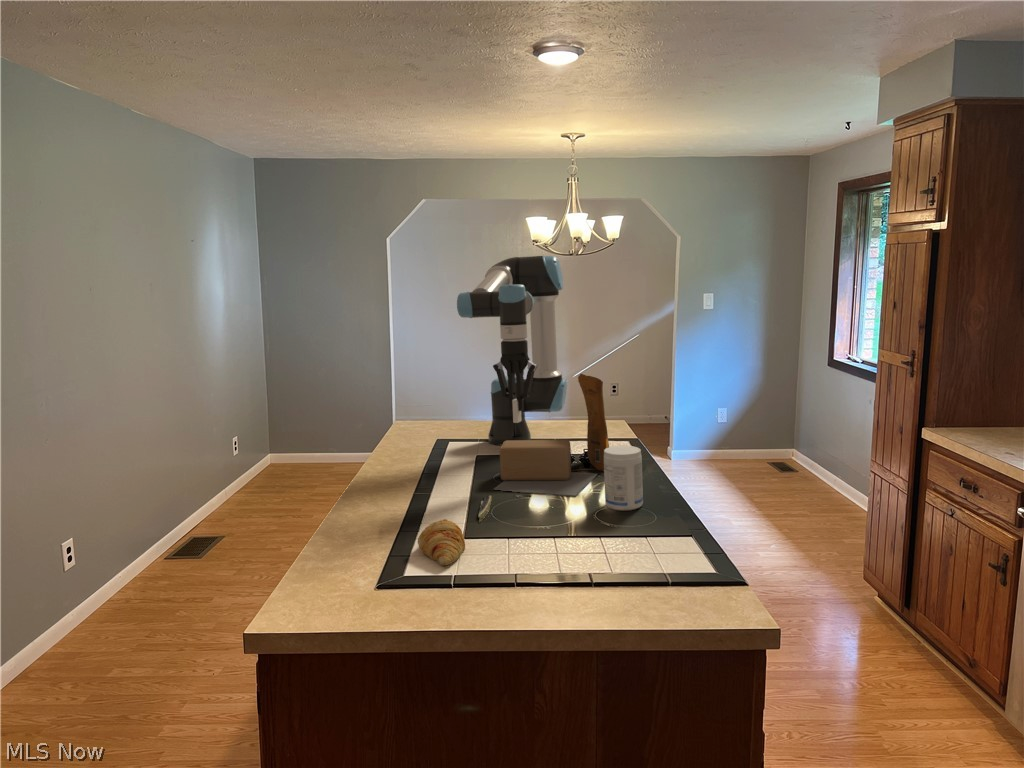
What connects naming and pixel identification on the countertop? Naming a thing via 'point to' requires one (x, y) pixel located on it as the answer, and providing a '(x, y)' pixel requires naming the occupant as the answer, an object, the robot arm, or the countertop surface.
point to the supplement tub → (623, 477)
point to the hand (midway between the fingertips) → (517, 421)
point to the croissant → (442, 542)
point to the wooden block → (535, 460)
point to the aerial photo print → (486, 506)
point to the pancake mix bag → (595, 419)
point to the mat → (550, 485)
